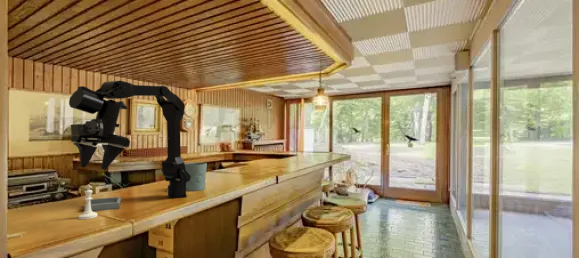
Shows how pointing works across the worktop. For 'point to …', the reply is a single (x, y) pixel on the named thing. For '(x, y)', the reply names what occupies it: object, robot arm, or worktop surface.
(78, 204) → the worktop surface
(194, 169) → the grey cylinder
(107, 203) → the tray
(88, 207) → the chess piece
